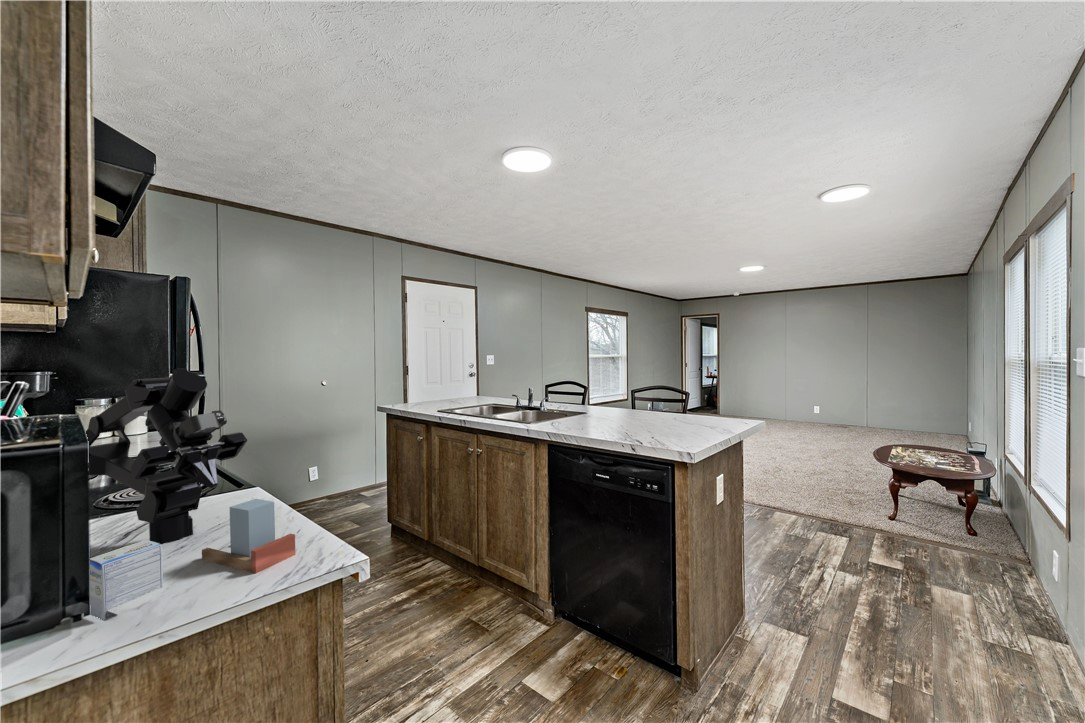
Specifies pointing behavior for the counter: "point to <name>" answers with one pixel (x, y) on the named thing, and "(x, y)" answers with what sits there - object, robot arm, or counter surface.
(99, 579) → the medicine box
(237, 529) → the slate key
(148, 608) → the counter surface
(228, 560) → the key housing
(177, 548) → the counter surface
